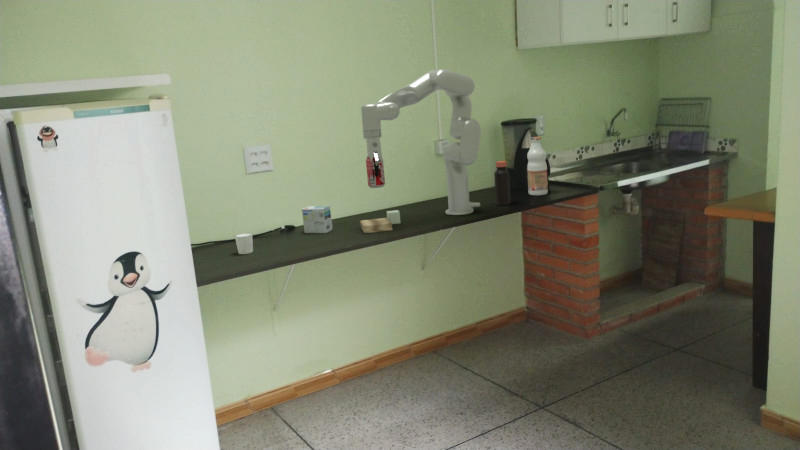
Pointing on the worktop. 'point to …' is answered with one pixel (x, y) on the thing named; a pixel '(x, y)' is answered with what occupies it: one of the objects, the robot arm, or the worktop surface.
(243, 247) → the white cup
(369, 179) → the soda can
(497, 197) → the bottle
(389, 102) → the robot arm
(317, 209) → the light bulb box
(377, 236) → the worktop surface
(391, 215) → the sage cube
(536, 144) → the fruit juice
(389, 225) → the slab
